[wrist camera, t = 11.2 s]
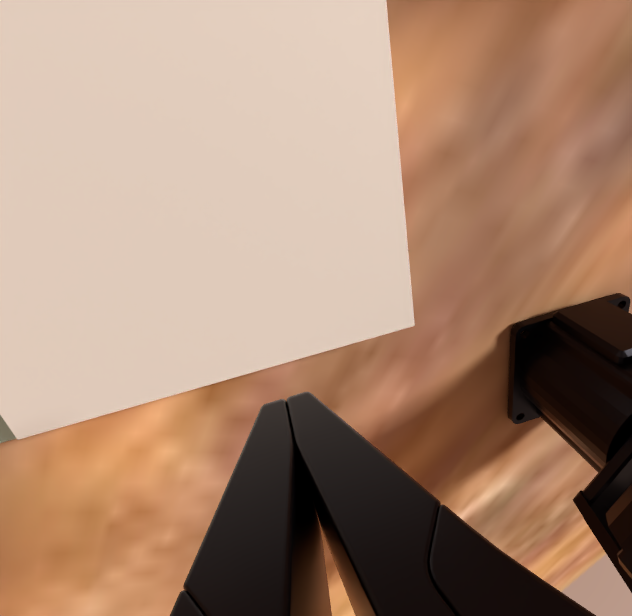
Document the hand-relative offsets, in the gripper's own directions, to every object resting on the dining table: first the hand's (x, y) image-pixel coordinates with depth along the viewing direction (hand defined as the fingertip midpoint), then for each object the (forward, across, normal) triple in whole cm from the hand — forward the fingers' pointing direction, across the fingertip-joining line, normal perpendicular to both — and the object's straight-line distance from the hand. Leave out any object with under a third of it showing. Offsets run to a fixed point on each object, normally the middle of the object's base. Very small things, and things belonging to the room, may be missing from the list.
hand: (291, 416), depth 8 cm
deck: (+11, +2, -2) cm, 11 cm away
